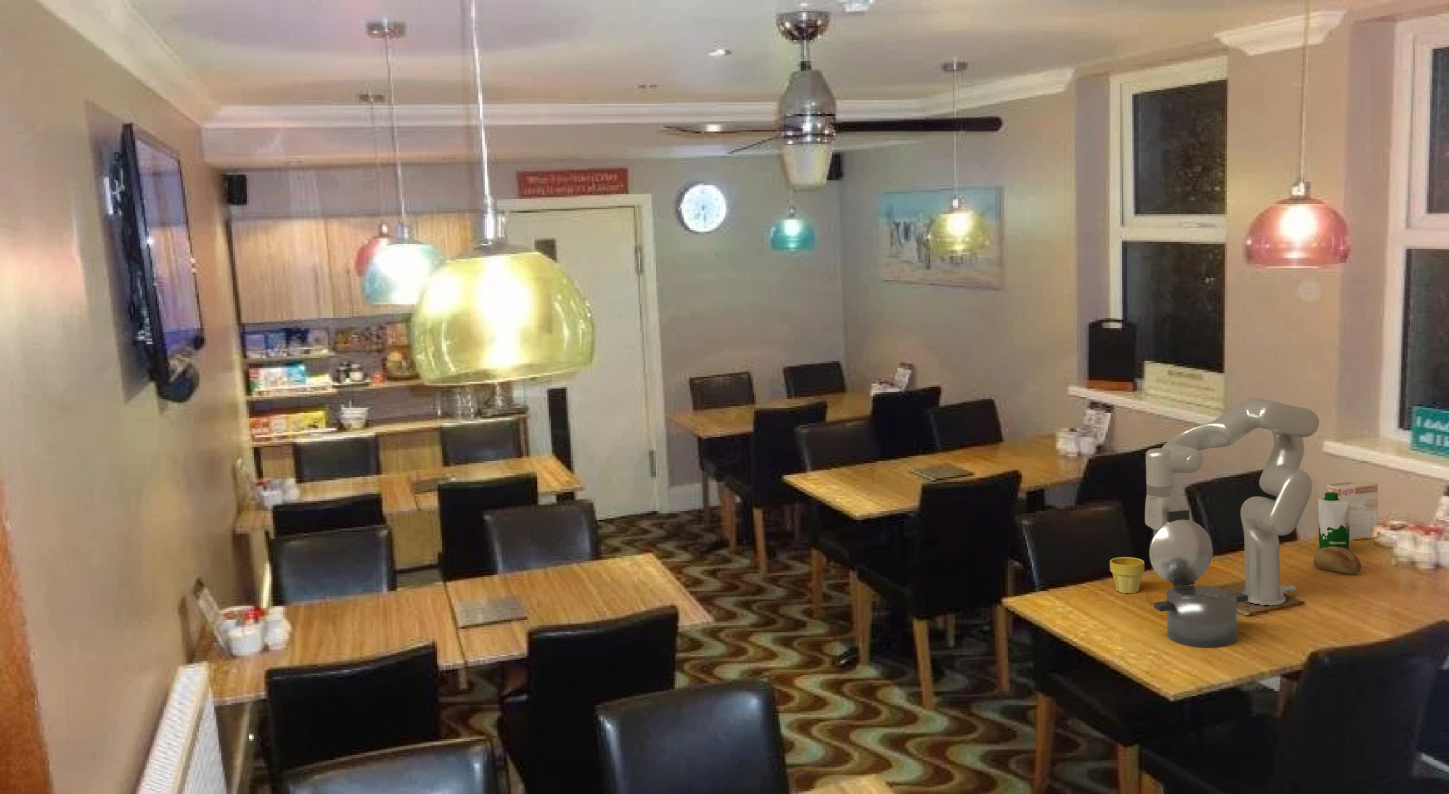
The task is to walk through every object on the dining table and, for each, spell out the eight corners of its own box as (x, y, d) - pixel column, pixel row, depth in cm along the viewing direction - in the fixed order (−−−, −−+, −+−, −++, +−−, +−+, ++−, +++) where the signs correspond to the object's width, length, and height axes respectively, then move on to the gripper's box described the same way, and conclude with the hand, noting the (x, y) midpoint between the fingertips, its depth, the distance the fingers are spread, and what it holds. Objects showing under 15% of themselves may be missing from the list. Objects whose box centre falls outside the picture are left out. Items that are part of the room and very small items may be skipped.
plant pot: (1140, 585, 365) (1139, 556, 364) (1149, 595, 355) (1148, 564, 354) (1107, 586, 366) (1106, 557, 365) (1115, 596, 356) (1114, 566, 355)
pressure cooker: (1224, 620, 328) (1224, 580, 326) (1264, 641, 309) (1263, 599, 307) (1140, 630, 324) (1138, 589, 323) (1174, 652, 306) (1173, 609, 304)
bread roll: (1350, 579, 356) (1350, 554, 355) (1305, 570, 369) (1305, 546, 368) (1367, 573, 361) (1367, 548, 360) (1322, 564, 374) (1322, 540, 373)
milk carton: (1343, 548, 389) (1342, 491, 386) (1353, 555, 380) (1352, 497, 377) (1315, 549, 390) (1315, 492, 388) (1325, 556, 381) (1324, 498, 379)
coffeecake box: (1365, 533, 405) (1364, 479, 403) (1378, 537, 398) (1378, 483, 396) (1326, 537, 404) (1325, 483, 401) (1339, 542, 397) (1339, 487, 394)
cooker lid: (1215, 582, 324) (1209, 580, 327) (1210, 508, 323) (1204, 506, 326) (1153, 589, 322) (1148, 587, 325) (1148, 514, 321) (1143, 513, 324)
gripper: (1135, 487, 339) (1137, 546, 341) (1160, 497, 324) (1162, 559, 327) (1159, 484, 340) (1161, 544, 342) (1185, 494, 325) (1186, 556, 327)
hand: (1161, 551), depth 334 cm, fingers closed
